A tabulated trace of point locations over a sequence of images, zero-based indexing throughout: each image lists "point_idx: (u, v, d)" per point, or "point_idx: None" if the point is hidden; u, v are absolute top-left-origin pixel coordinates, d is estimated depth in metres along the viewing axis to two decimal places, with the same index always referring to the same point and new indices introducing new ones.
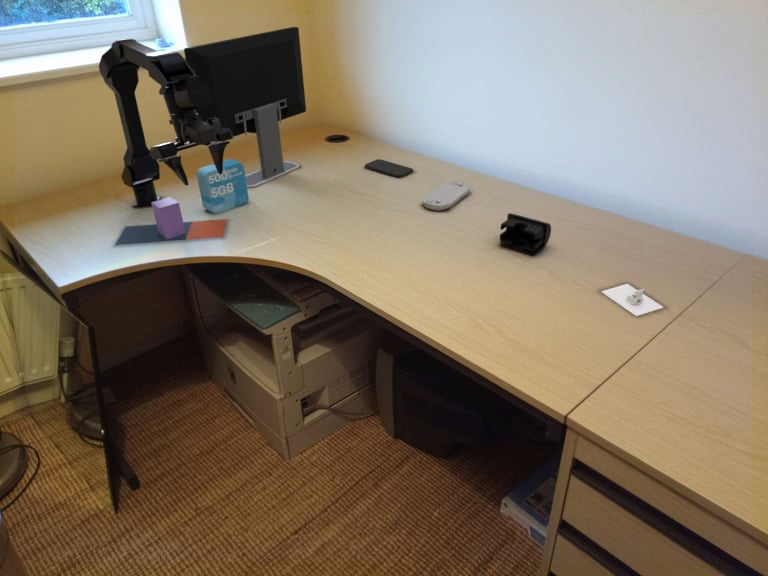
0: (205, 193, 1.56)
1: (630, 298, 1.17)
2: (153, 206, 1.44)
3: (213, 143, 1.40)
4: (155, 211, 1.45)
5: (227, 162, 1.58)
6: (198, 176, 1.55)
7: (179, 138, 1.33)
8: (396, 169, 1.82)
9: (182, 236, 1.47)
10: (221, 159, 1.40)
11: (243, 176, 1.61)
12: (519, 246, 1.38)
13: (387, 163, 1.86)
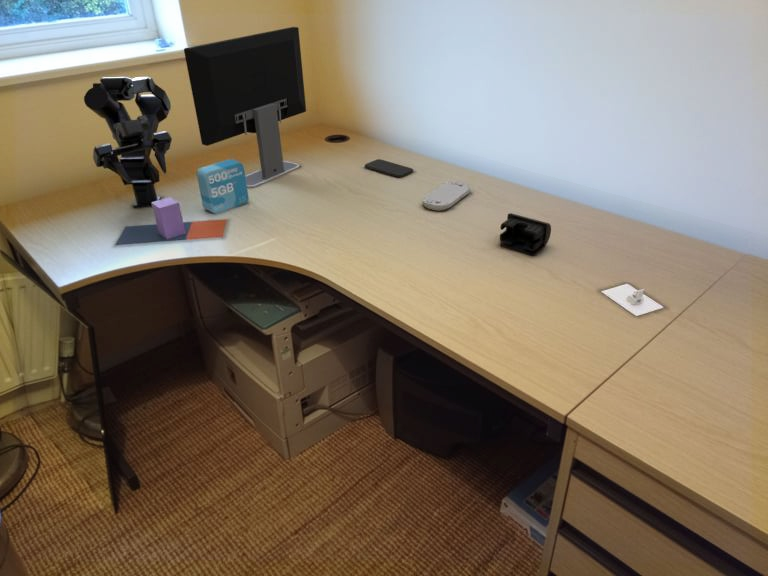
0: (205, 193, 1.56)
1: (630, 298, 1.17)
2: (153, 206, 1.44)
3: (156, 149, 1.51)
4: (155, 211, 1.45)
5: (227, 162, 1.58)
6: (198, 176, 1.55)
7: (118, 144, 1.46)
8: (396, 169, 1.82)
9: (182, 236, 1.47)
10: (163, 158, 1.49)
11: (243, 176, 1.61)
12: (519, 246, 1.38)
13: (387, 163, 1.86)
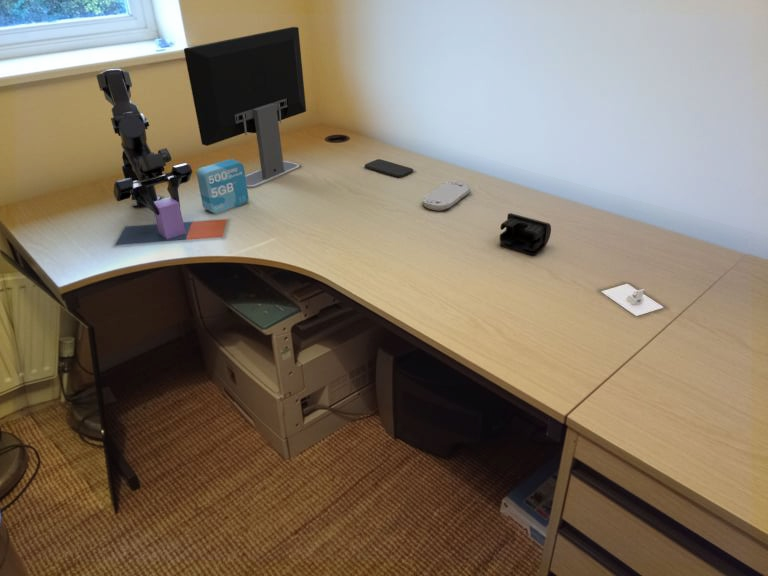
0: (205, 193, 1.56)
1: (630, 298, 1.17)
2: None
3: (169, 183, 1.48)
4: None
5: (227, 162, 1.58)
6: (198, 176, 1.55)
7: (139, 177, 1.44)
8: (396, 169, 1.82)
9: (182, 236, 1.47)
10: (176, 193, 1.46)
11: (243, 176, 1.61)
12: (519, 246, 1.38)
13: (387, 163, 1.86)
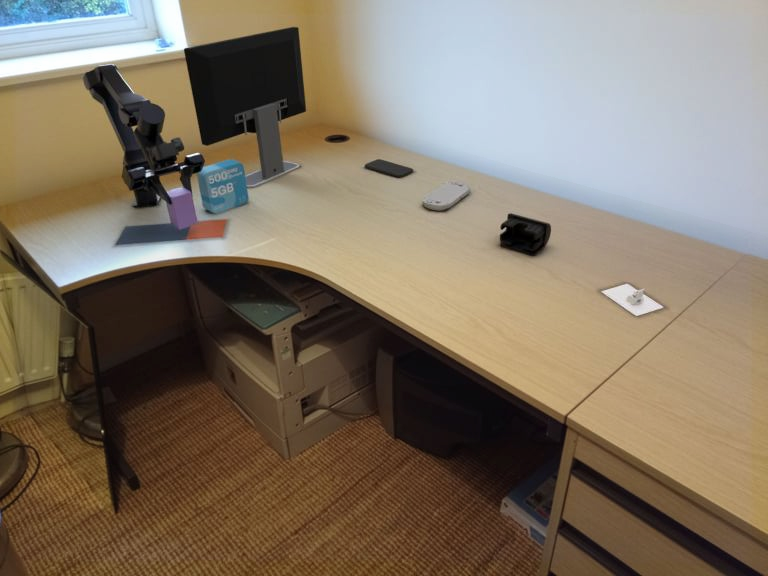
0: (205, 193, 1.56)
1: (630, 298, 1.17)
2: None
3: (181, 173, 1.47)
4: None
5: (227, 162, 1.58)
6: (198, 176, 1.55)
7: (151, 167, 1.43)
8: (396, 169, 1.82)
9: (182, 236, 1.47)
10: (189, 183, 1.45)
11: (243, 176, 1.61)
12: (519, 246, 1.38)
13: (387, 163, 1.86)
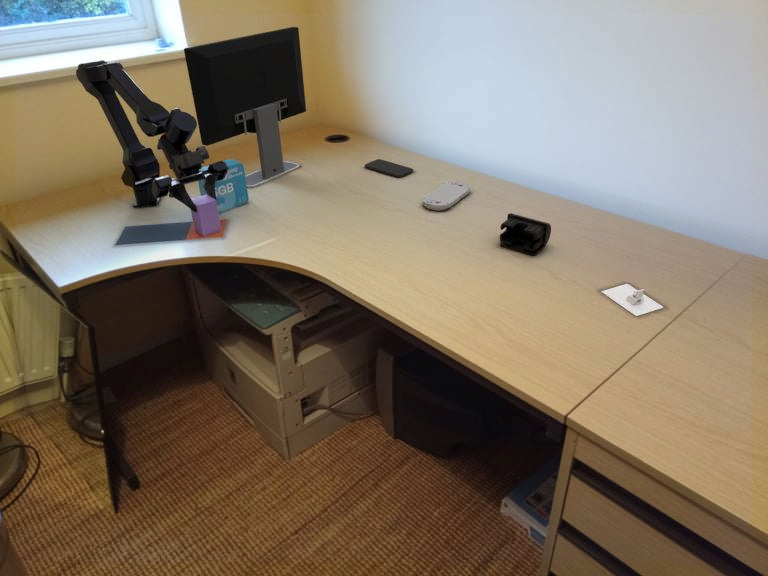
0: (205, 193, 1.56)
1: (630, 298, 1.17)
2: None
3: (205, 181, 1.49)
4: None
5: (227, 162, 1.58)
6: None
7: (176, 175, 1.45)
8: (396, 169, 1.82)
9: (182, 236, 1.47)
10: (213, 191, 1.47)
11: (243, 176, 1.61)
12: (519, 246, 1.38)
13: (387, 163, 1.86)
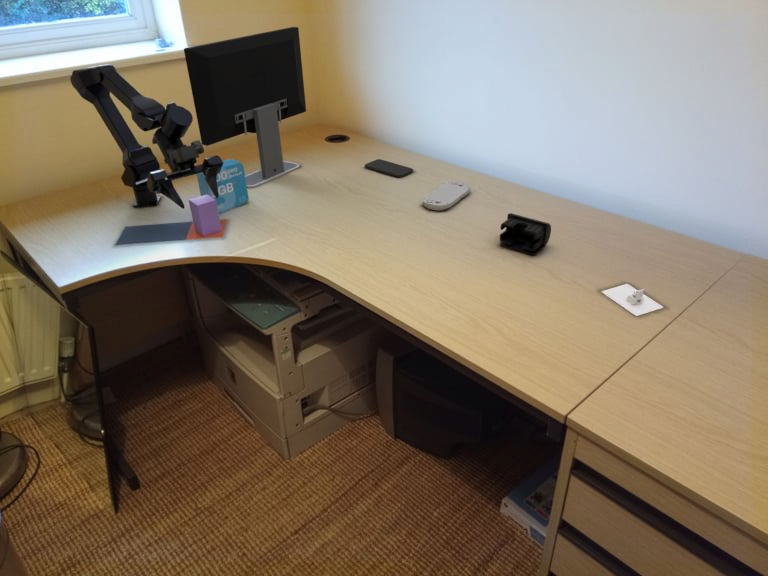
0: (205, 193, 1.56)
1: (630, 298, 1.17)
2: (191, 203, 1.45)
3: (207, 173, 1.51)
4: (192, 208, 1.46)
5: (227, 162, 1.59)
6: (198, 176, 1.55)
7: (171, 169, 1.46)
8: (396, 169, 1.82)
9: (182, 236, 1.47)
10: (215, 183, 1.49)
11: (243, 176, 1.61)
12: (519, 246, 1.38)
13: (387, 163, 1.86)
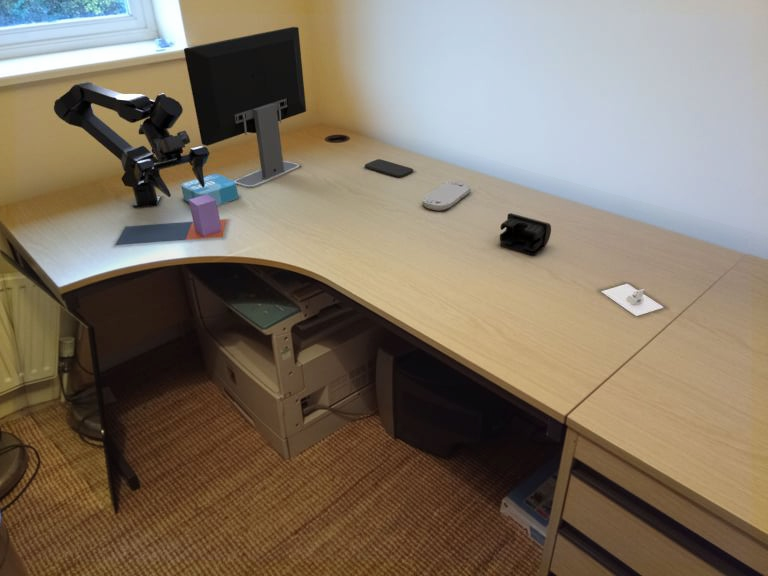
0: (190, 194, 1.63)
1: (630, 298, 1.17)
2: (191, 203, 1.45)
3: (194, 163, 1.55)
4: (192, 208, 1.46)
5: None
6: (184, 197, 1.67)
7: (158, 159, 1.50)
8: (396, 169, 1.82)
9: (182, 236, 1.47)
10: (201, 172, 1.53)
11: (221, 176, 1.70)
12: (519, 246, 1.38)
13: (387, 163, 1.86)
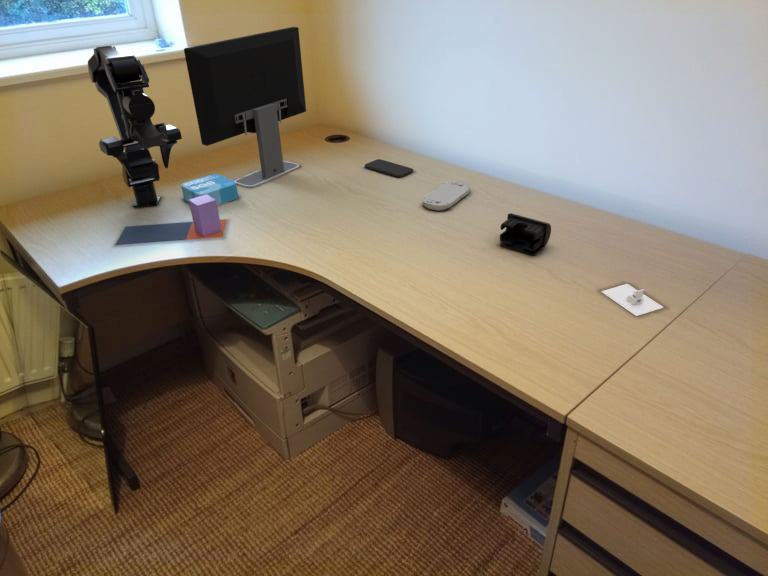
0: (190, 194, 1.63)
1: (630, 298, 1.17)
2: (191, 203, 1.45)
3: (162, 139, 1.50)
4: (192, 208, 1.46)
5: None
6: (184, 197, 1.67)
7: (128, 135, 1.44)
8: (396, 169, 1.82)
9: (182, 236, 1.47)
10: (168, 156, 1.51)
11: (221, 176, 1.70)
12: (519, 246, 1.38)
13: (387, 163, 1.86)
